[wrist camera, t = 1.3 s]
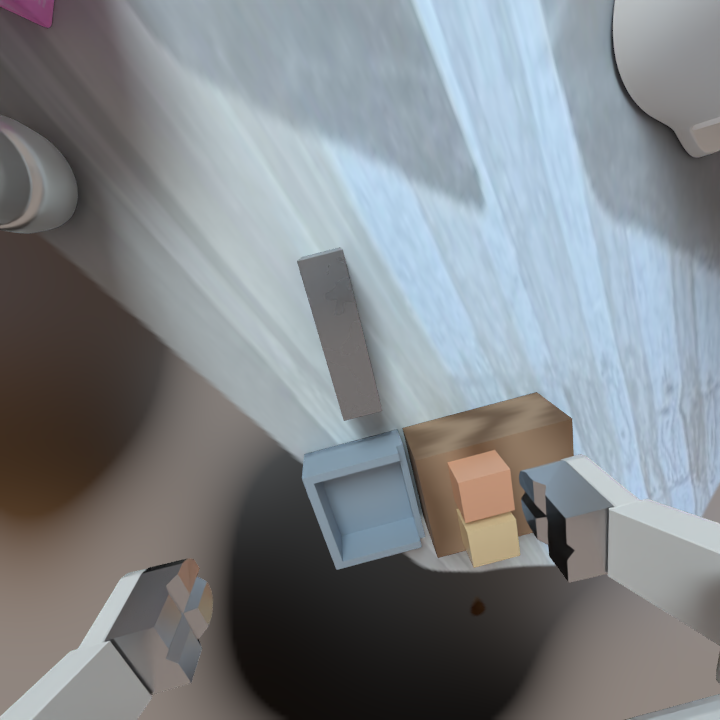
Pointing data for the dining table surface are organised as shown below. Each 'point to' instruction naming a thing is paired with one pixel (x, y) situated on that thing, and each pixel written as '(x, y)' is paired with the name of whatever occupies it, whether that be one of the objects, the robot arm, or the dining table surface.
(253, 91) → the dining table surface
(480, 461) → the tile terracotta
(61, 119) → the dining table surface
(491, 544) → the tile ochre
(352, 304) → the grey stone brick
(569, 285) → the dining table surface
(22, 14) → the gum box
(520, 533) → the brown wooden block
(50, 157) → the plastic bottle
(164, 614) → the robot arm
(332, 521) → the box
